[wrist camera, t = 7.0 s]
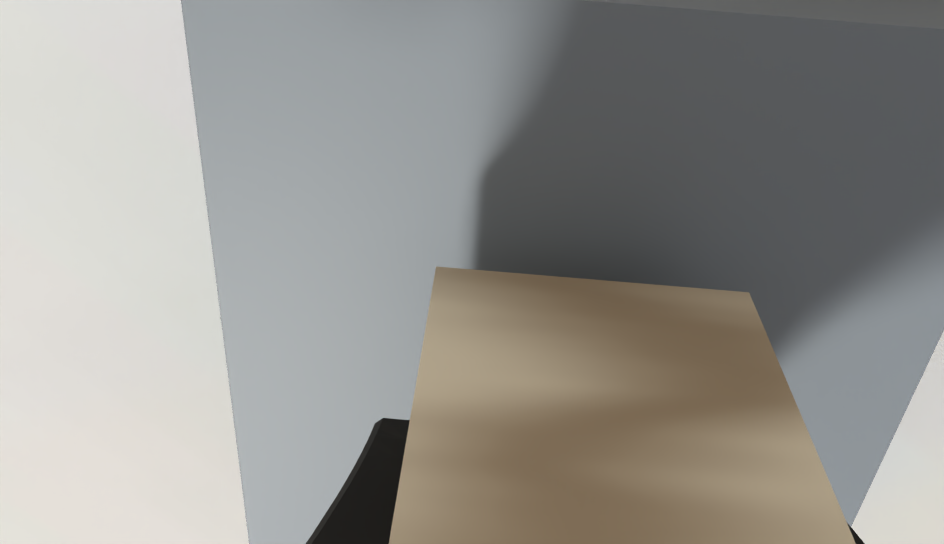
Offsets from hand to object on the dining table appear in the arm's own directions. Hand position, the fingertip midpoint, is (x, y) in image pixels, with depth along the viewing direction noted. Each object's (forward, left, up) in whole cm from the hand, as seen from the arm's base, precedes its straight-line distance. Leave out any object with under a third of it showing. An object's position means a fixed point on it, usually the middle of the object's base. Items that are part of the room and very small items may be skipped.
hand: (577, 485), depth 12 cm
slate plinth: (0, 0, -5) cm, 5 cm away
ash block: (0, 0, -2) cm, 2 cm away
